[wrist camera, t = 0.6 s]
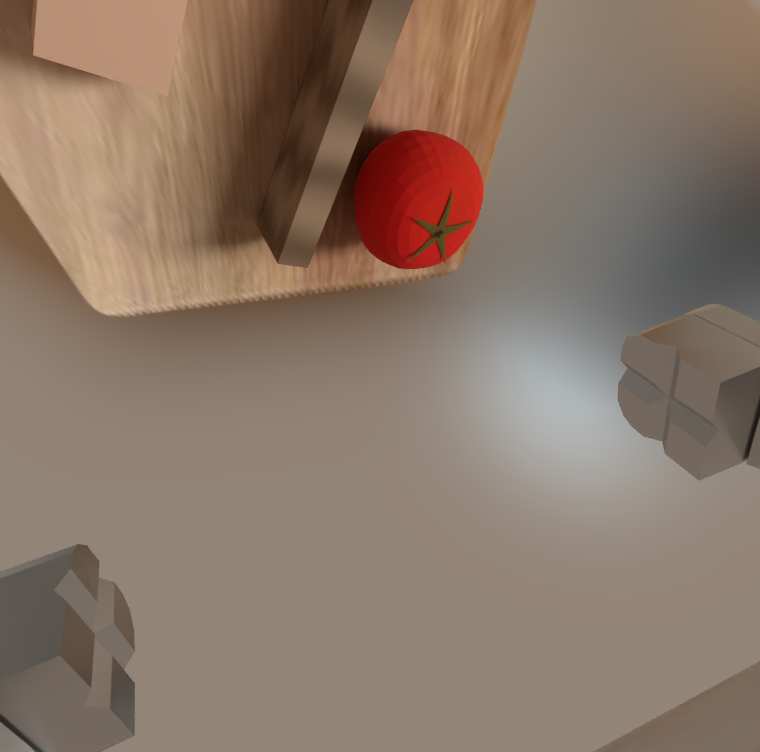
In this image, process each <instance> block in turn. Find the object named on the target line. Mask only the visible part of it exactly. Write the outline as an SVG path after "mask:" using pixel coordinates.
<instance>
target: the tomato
mask: <svg viewBox="0 0 760 752" xmlns="http://www.w3.org/2000/svg"><path fill="white" fill-rule="evenodd" d="M482 201H483V182H482V178H481V174H480V170H479V167H478V166H477V164H476V162H475V160H474V159H473V157H472V156H471V154H470V152H469V151H468V150H467V149H465V148H464V147H463V146H462V145H461V144H459V143H458V142H456V141H455V140H453V139H451V138H448V137H446V136H444V135H440V134H437V133H434V132H428V131H420V130H411V131H403V132H401V133H398V134H396V135H393V136H391V137H389V138H387V139H386V140H384V141H383V142H381V143H380V144H379V145H378V146H377V147H376V148H374V149H373V150H372V151H371V153H370V154H369V155H368V157H367V158H366V160H365V161H364V163H363V165H362V167H361V169H360V171H359V174H358V177H357V180H356V182H355V189H354V212H355V220H356V224H357V227H358V231H359V234H360V237H361V239H362V241H363V243H364V245H365V246H366V248H367V249H368V250H369V252H370V253H372V254H373V255H374V256H375V257H376V258H378V259H379V260H381V261H382V262H384V263H387V264H389V265H391V266H394V267H397V268H402V269H419V268H425V267H430V266H433V265H436V264H439V263H441V262H443V261H444V262H445V260H447V259H448V258H450V257H451V256H452V255H453V254H454V253H455V252H457V250H458V249H459V248H460V247H461V246H462V244H463V243H464V242H465V240H466V239H467V237H468V236H469V234H470V233H471V231H472V229H473V228H474V226H475V223H476V221H477V219H478V216H479V213H480V209H481V205H482Z"/></svg>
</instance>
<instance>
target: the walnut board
mask: <svg viewBox="0 0 760 752" xmlns="http://www.w3.org/2000/svg"><path fill="white" fill-rule="evenodd" d="M412 3H413V0H329V1H328V5H327V8H326V11H325V14H324V17H323V20H322V23H321V26H320V29H319V33H318V36H317V39H316V42H315V45H314V48H313V51H312V54H311V57H310V61H309V64H308V67H307V70H306V73H305V76H304V79H303V82H302V85H301V88H300V92H299V95H298V98H297V101H296V104H295V107H294V110H293V113H292V116H291V120H290V123H289V126H288V129H287V132H286V135H285V138H284V141H283V144H282V148H281V151H280V154H279V157H278V160H277V163H276V166H275V169H274V172H273V175H272V179H271V182H270V185H269V188H268V191H267V194H266V197H265V200H264V203H263V207H262V210H261V213H260V216H259V219H258V222H257V225H258V227H259V229H260V231H261V233H262V235H263V237H264V239H265V240H266V242H267V244H268V246H269V248H270V250H271V252H272V253H273V255H274V257H275V259H276V261H277V263H278V264H285V265H291V266H298V267H304V268H308V266H309V263H310V261H311V258H312V255H313V253H314V250H315V248H316V245H317V243H318V240H319V238H320V235H321V233H322V230H323V228H324V225H325V223H326V220H327V218H328V215H329V212H330V210H331V207H332V205H333V202H334V200H335V197H336V195H337V192H338V190H339V187H340V185H341V182H342V180H343V177H344V175H345V172H346V169H347V167H348V164H349V162H350V159H351V157H352V154H353V152H354V149H355V147H356V144H357V142H358V139H359V137H360V134H361V132H362V129H363V126H364V124H365V121H366V119H367V116H368V114H369V111H370V109H371V106H372V104H373V101H374V99H375V96H376V94H377V91H378V89H379V86H380V83H381V81H382V78H383V76H384V73H385V71H386V68H387V66H388V63H389V61H390V58H391V56H392V53H393V51H394V48H395V46H396V43H397V40H398V38H399V35H400V33H401V30H402V28H403V25H404V23H405V20H406V18H407V15H408V13H409V10H410V8H411V5H412Z"/></svg>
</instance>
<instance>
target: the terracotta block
mask: <svg viewBox="0 0 760 752" xmlns="http://www.w3.org/2000/svg"><path fill="white" fill-rule="evenodd" d="M187 1H188V0H33V3H32V17H31V37H32V48H33V55H34V56H37V57H40V58H44V59H47V60H50V61H53V62H57V63H60V64H63V65H66V66H69V67H73V68H76V69H79V70H82V71H86V72H89V73H92V74H95V75H99V76H102V77H105V78H108V79H112V80H115V81H118V82H121V83H124V84H128V85H131V86H134V87H137V88H141V89H144V90H147V91H150V92H154V93H157V94H160V95H163V96H166V97H168V93H169V88H170V83H171V78H172V74H173V69H174V64H175V59H176V54H177V49H178V45H179V40H180V35H181V30H182V25H183V21H184V16H185V11H186V6H187Z"/></svg>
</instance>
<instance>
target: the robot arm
mask: <svg viewBox="0 0 760 752" xmlns="http://www.w3.org/2000/svg"><path fill="white" fill-rule="evenodd" d="M621 361H622V362H623V363H624V364H625V366H627V368H628V369H627V371H626V372H625V374H624V375H623V377H622V378H621V380H620V381H619V385H618V402H619V405H620V407H621V410H622V413H623V415H624V417H625V418H626V420H627V421H628V422H629V423H630V425H631V426H632V427H633V428H634V429H636V430H637V431H638V432H639V433H640V434H642V435H643V436H644V437H648V438H652V439H656V440H659V441H662V442H663V446H664V451H665V454H666V455H667V456H669V457H670V458H671V459H673V460H674V461H675V462H676V463H678V464H679V465H680V466H681V467H683V468H684V469H685V470H686V471H688V472H689V473H690V474H691V475H693V476H694V477H695V478H697V479H698V480H702V479H704V478H706V477H709V476H711V475H713V474H716V473H718V472H721V471H723V470H726V469H728V468H730V467H733V466H735V465H738V464H740V463H743V462H745V461H747V464H748V465H751V466H754V467H757V468H759V469H760V322H758V321H755V320H753V319H751V318H749V317H747V316H745V315H743V314H741V313H738V312H736V311H734V310H732V309H730V308H728V307H725V306H723V305H716V304H708V305H706V306H703V307H701V308H698V309H696V310H694V311H691V312H688V313H686V314H683V315H682V316H681V317H678V318H675V319H672V320H670V321H667V322H665V323H662V324H659V325H657V326H654V327H652V328H649V329H646V330H644V331H641V332H639V333H636V334H633V335H631V336H628V337H627V339H626V341H625V342H624V344H623V346H622V353H621ZM98 577H99V560H98V559H97V558H96V556H95V555H94V554H93V553H92V551H91V550H90V549H89V548H88V546H87V545H80V544H77V545H74V546H71V547H69V548H66V549H63V550H60V551H57V552H55V553H51V554H49V555H46V556H43V557H40V558H37V559H35V560H32V561H29V562H26V563H23V564H20V565H18V566H15V567H12V568H9V569H6V570H4V571H1V572H0V752H101V751H103V750H105V749H108V748H110V747H112V746H114V745H116V744H118V743H120V742H122V741H124V740H126V739H128V738H130V737H132V736H134V725H135V724H134V722H135V719H134V717H135V716H134V715H135V714H134V713H135V683H134V682H133V681H132V679H131V678H130V677H129V676H128V674H127V673H126V672H125V671H124V668H125V667H126V665H127V663H128V662H129V660H130V658H131V656H132V655H133V653H134V651H135V645H134V628H133V623H132V619H131V614H130V609H129V607H128V605H127V603H126V600H125V598H124V597H123V594H122V592H121V591H120V589H119V588H118V587H117V585H116V584H115V582H112V581H108V580H105V579H101V578H98ZM594 752H760V661H759V662H757V663H756V664H754V665H752V666H750V667H748V668H747V669H745V670H743V671H741V672H739V673H737V674H735V675H734V676H732V677H730V678H728V679H726V680H724V681H722V682H721V683H719V684H717V685H715V686H713V687H711V688H710V689H708V690H706V691H704V692H702V693H700V694H699V695H697V696H695V697H693V698H691V699H690V700H688V701H686V702H684V703H682V704H680V705H678V706H677V707H675V708H673V709H671V710H669V711H667V712H666V713H664V714H662V715H660V716H658V717H656V718H655V719H653V720H651V721H649V722H647V723H645V724H644V725H642V726H640V727H638V728H636V729H634V730H632V731H631V732H629V733H627V734H625V735H623V736H622V737H620V738H618V739H616V740H614V741H612V742H610V743H608V744H607V745H605V746H603V747H601V748H599V749H598V750H596V751H594Z"/></svg>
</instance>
